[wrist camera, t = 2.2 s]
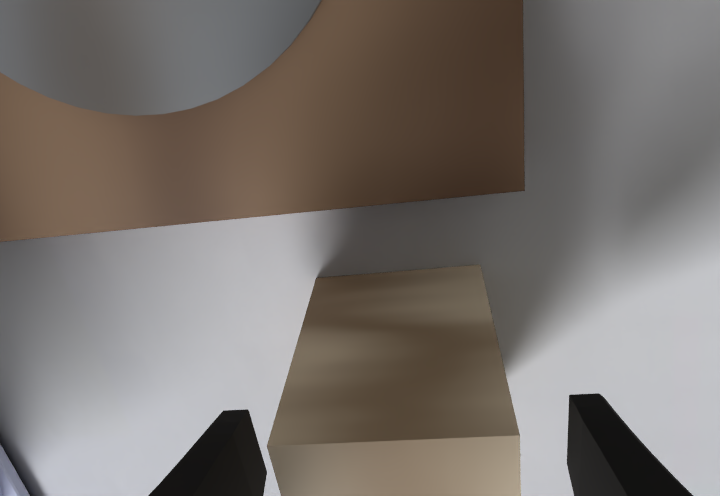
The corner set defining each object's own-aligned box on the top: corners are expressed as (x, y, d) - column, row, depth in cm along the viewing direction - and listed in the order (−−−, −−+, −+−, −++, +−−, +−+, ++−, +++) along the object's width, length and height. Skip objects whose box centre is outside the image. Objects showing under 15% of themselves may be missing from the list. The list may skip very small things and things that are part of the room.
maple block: (340, 400, 17) (310, 597, 12) (316, 277, 15) (266, 446, 10) (486, 393, 17) (522, 595, 11) (480, 263, 15) (519, 435, 9)
